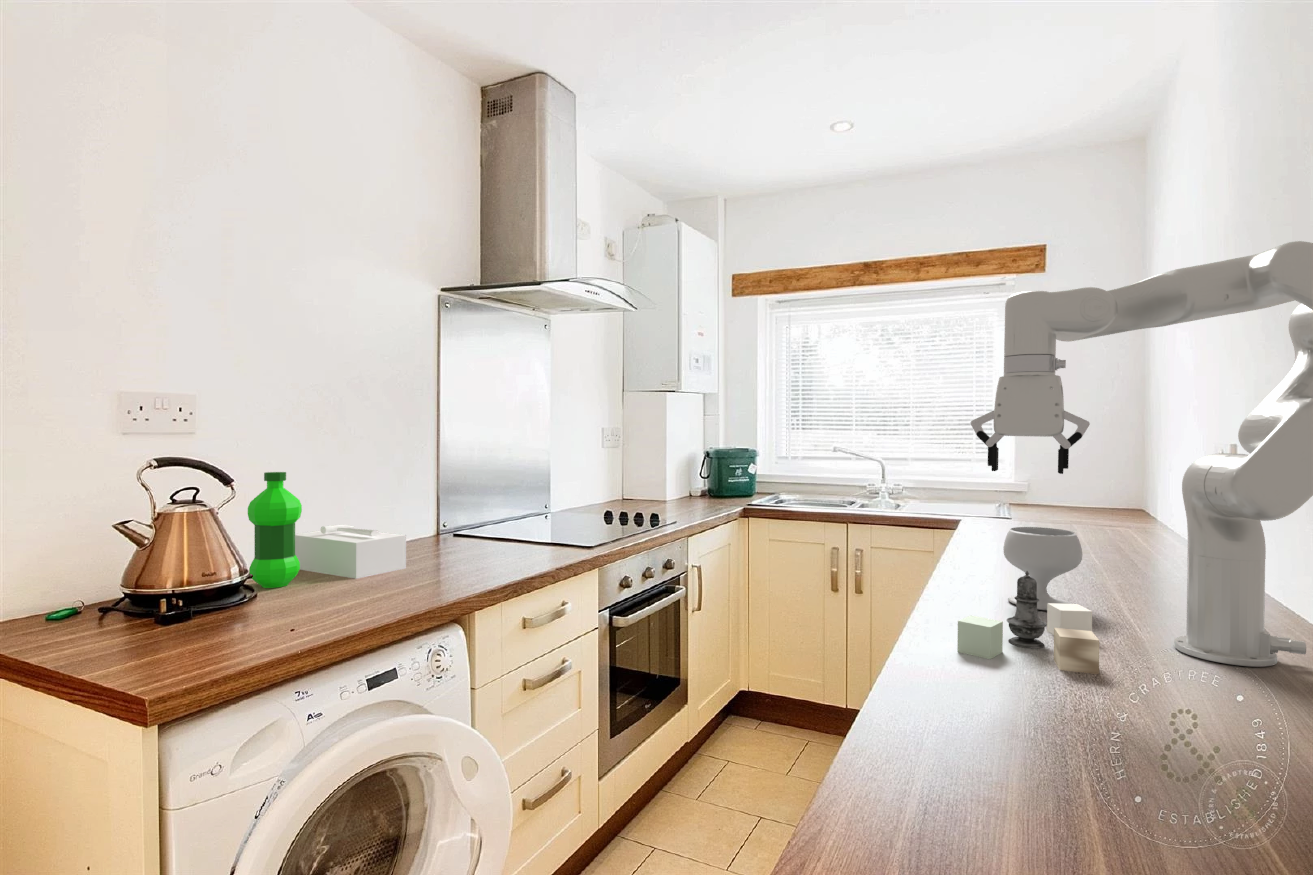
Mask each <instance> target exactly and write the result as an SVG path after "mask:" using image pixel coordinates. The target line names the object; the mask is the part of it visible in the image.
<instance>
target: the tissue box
mask: <svg viewBox="0 0 1313 875" xmlns="http://www.w3.org/2000/svg"><path fill="white" fill-rule="evenodd" d="M295 555H296V556H297V558H298V560H299V562H300V569H299V571H300V570H301V571H307V572H313V573H319V574H325V575H332V576H338V577H344V578H349V579H355V580H356V579H363V578H365V577H370V576H375V575H376V576H377V575H380V574H386V573H390V572H395V571H399V570H400V571H401V570H404V569H407V535H406V534H402V533H401V534H400V533H399V534H398V533H391V532H380V531H379V530H377V529H365V528H364V529H363V528H356V526H354V525H349V524H335V525H325V526H324V525H323V526H321V527H320V530H315V531H307V532H306V531H305V532H300V533H299V532H298V533H295Z"/></svg>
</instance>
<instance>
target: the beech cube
mask: <svg viewBox="0 0 1313 875" xmlns="http://www.w3.org/2000/svg"><path fill="white" fill-rule="evenodd" d="M1053 661H1054V663H1055V665H1056V666H1057V668H1058V670H1059V671H1065V672H1075V673H1083V672H1084V673H1085V674H1092V675H1100V639H1099V638H1098V637H1097V636H1096V634H1095V633H1094V632H1093V630H1092V631H1085V630H1074V629H1063V628H1054V635H1053Z"/></svg>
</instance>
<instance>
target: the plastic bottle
mask: <svg viewBox="0 0 1313 875" xmlns="http://www.w3.org/2000/svg"><path fill="white" fill-rule="evenodd" d="M263 473H264V474H263V480H264V482H266V488H265V489H263V491H261V492H260V493H259V494H258V495H256V496H255V497H254V498H253V499H252V500H251V501H249V504H248V507H247V517H248V521H250V522H251V524H253V525H254V557H253V560H252V561H251V563H250V566H249V571H248V572H249V575H250V574H252V575H253V577H252V578H251V579H252V580H253V581H254V582H255V583H256V584H258V585H259V586H261V588H264V589H274V588H275V589H276V588H282V587H285V586H288V585H289V584H290V583H291V581H293V579H295V578H296V577H297V575H298V574H299V572H300V562H299V560H298V558H297V556H296V555H295V534H296V522H298V520H299V519H300V518H301V515H302V510H303V509H302V508H303V507H302V506H303V505H302V503H301V501H300V499H299V498H298V497H296V496H295V495H294V494H293V493H292V492H290V491H289V490H287V489H286V488H285V487H284V481H286V480H287V472H286V471H270V472H269V471H267V472H263Z"/></svg>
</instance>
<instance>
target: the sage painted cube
mask: <svg viewBox="0 0 1313 875" xmlns="http://www.w3.org/2000/svg"><path fill="white" fill-rule="evenodd" d="M1003 626H1004V622H1003V621H1002V620H997V619H991V618H987V617H981V616H976V615H973V614H969V615H968V616H966V617H963V618H960V619H958V620H957V648H956V649H957V653H961V654H965V655H969V656H973V657H978V658H982V659H988V660H992V659H994V658H995V657H997V656H1000V655H1001V654H1002V653H1003V643H1004V642H1003V638H1004V636H1003V634H1004V633H1003V629H1004V627H1003Z"/></svg>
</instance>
